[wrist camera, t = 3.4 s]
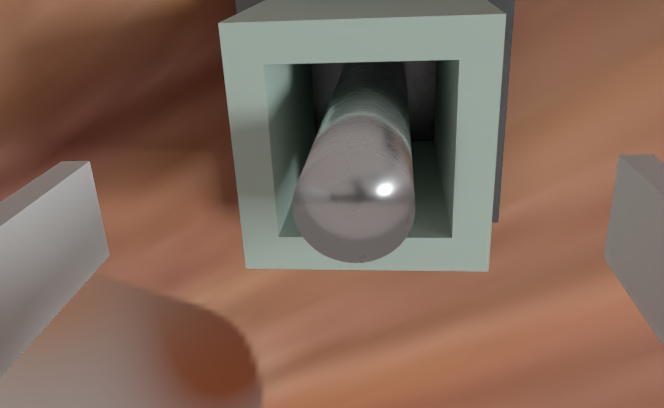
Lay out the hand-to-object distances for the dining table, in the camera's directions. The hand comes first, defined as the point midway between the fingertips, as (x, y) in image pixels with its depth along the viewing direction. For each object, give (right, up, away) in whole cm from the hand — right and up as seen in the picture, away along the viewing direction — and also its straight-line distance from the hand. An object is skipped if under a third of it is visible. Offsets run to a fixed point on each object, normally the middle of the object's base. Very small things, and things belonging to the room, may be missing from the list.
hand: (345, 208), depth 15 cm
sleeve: (+2, +6, +12) cm, 14 cm away
